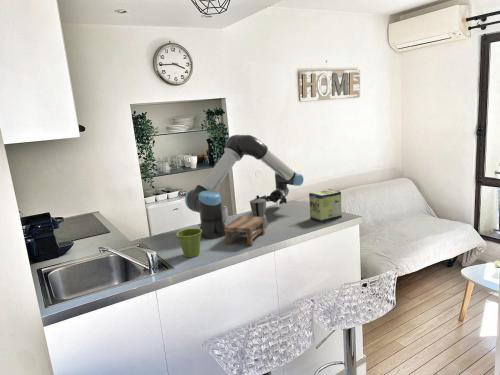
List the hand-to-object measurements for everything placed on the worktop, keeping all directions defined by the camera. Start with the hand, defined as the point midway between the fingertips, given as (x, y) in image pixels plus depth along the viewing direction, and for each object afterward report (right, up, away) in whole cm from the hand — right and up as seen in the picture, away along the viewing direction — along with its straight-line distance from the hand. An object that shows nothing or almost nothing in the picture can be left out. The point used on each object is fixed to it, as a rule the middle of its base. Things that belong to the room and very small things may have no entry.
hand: (266, 203), depth 223 cm
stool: (-11, -17, -28) cm, 34 cm away
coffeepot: (-4, -13, -10) cm, 16 cm away
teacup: (-27, -11, +11) cm, 31 cm away
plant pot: (-37, -22, -45) cm, 62 cm away
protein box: (+35, -8, -2) cm, 36 cm away
